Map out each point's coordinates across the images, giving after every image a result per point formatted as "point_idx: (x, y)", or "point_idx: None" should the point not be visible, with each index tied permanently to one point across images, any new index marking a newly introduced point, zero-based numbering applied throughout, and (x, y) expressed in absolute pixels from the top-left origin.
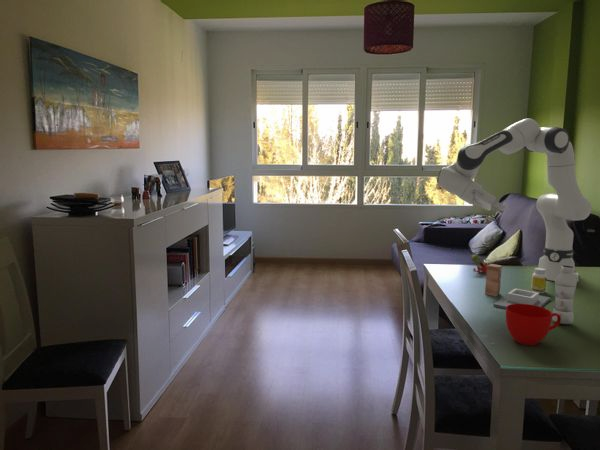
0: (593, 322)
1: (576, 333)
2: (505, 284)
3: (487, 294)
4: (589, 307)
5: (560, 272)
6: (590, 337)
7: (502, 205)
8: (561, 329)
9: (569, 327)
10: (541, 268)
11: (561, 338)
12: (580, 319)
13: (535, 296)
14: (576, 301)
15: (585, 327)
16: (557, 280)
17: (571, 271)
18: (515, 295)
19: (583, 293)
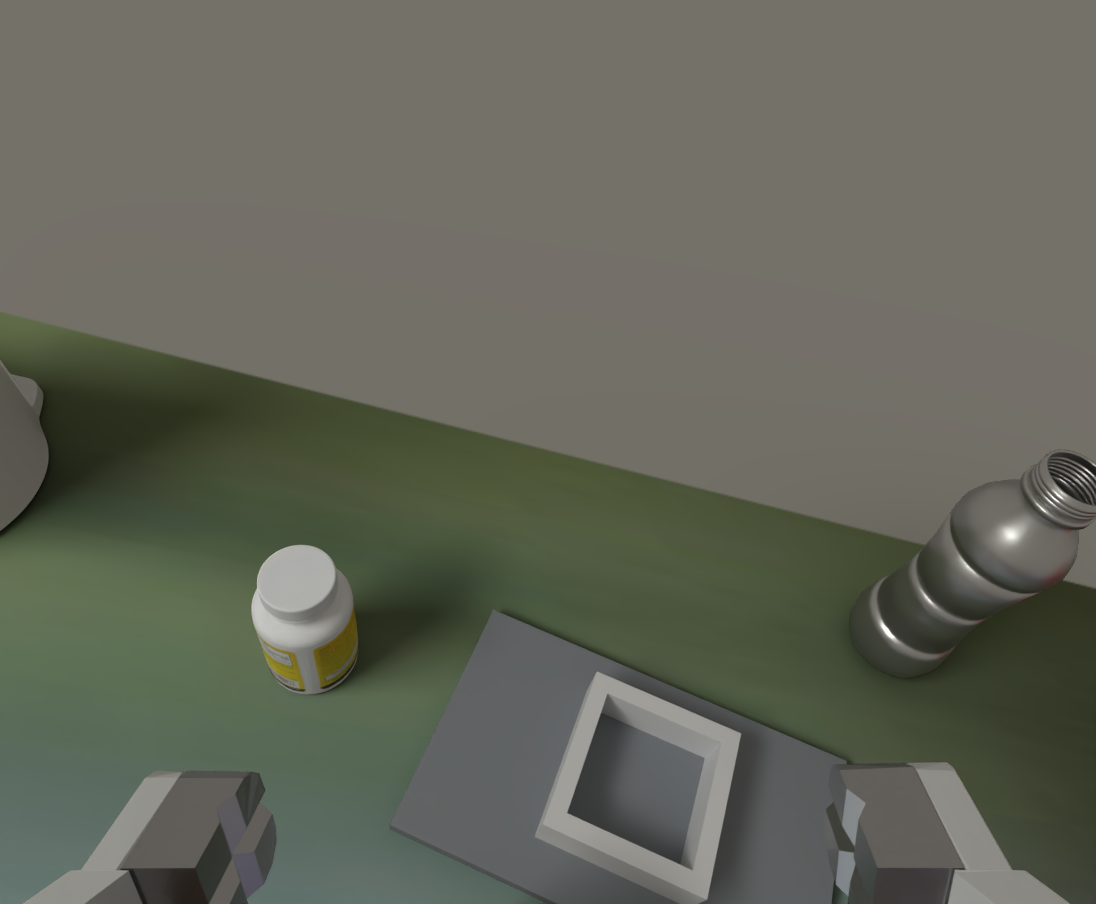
0: (786, 513)
1: None
2: None
3: None
4: (560, 469)
5: (5, 438)
6: None
7: (986, 840)
8: (974, 663)
9: None
10: (277, 563)
11: (1093, 687)
12: (774, 551)
13: (669, 705)
14: (474, 496)
15: (876, 559)
16: (1062, 575)
17: (1077, 477)
18: (718, 840)
19: (302, 429)
